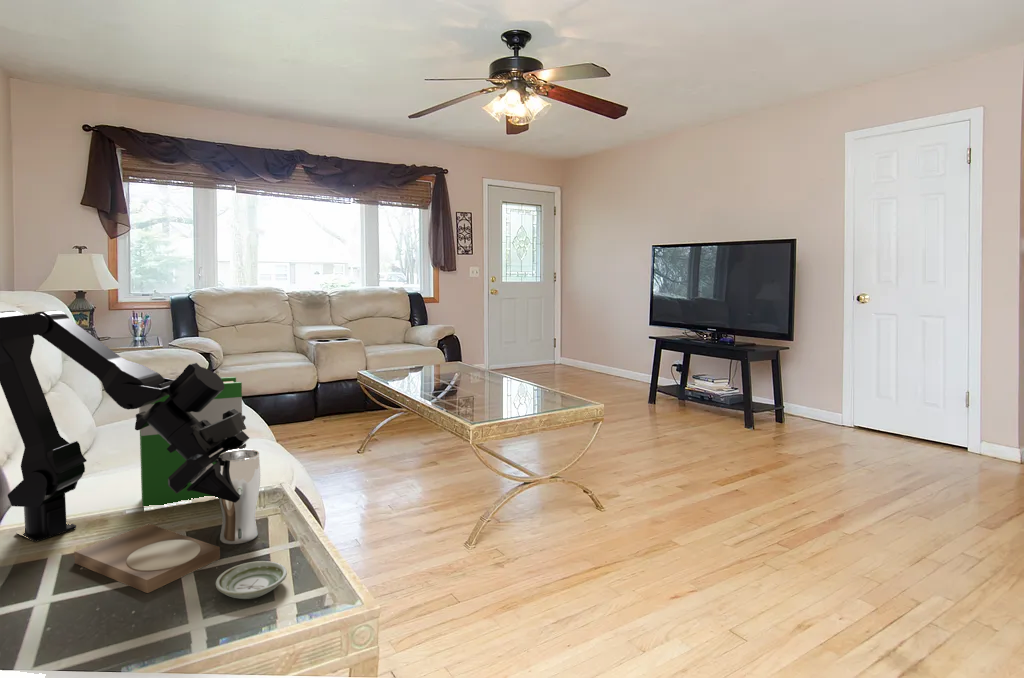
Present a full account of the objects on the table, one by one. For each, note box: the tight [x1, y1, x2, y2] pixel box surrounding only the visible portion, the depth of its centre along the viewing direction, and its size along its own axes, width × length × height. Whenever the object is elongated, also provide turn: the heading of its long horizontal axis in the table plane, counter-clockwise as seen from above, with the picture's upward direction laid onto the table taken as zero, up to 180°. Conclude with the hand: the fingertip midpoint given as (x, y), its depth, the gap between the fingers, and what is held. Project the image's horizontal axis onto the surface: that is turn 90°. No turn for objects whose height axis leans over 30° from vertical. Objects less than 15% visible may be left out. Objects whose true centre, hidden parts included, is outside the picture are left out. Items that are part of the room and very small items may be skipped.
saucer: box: [215, 560, 288, 600], centre depth 87 cm, size 10×10×2 cm
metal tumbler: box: [218, 448, 262, 545], centre depth 103 cm, size 7×7×15 cm
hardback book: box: [138, 376, 243, 507], centre depth 120 cm, size 18×7×24 cm, turn 124°
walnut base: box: [74, 523, 221, 594], centre depth 94 cm, size 18×12×2 cm, turn 65°
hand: (246, 492), depth 103 cm, fingers closed on metal tumbler, 7 cm apart
